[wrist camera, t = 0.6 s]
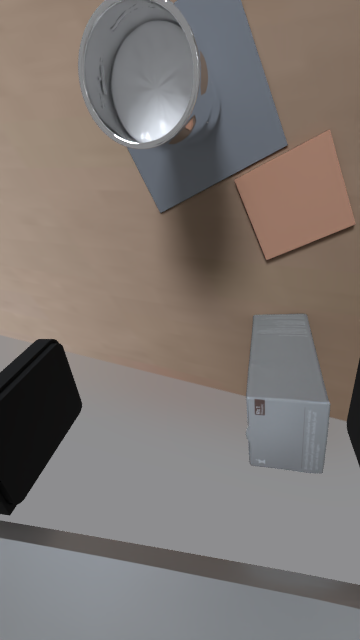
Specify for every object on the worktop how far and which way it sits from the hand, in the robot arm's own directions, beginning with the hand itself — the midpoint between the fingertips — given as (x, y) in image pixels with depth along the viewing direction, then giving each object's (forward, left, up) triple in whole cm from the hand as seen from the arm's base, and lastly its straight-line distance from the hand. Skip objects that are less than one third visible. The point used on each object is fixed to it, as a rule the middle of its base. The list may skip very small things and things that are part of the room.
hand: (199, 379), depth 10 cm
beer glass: (0, -11, -27) cm, 29 cm away
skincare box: (+1, +16, -27) cm, 31 cm away
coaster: (-6, +1, -27) cm, 27 cm away
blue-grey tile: (0, -11, -27) cm, 29 cm away
